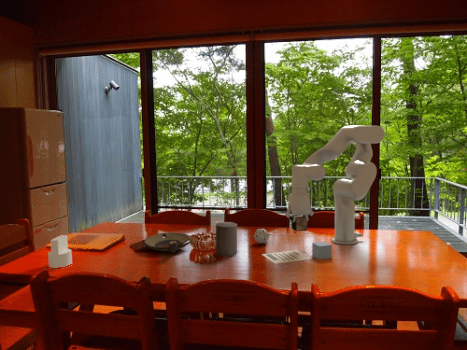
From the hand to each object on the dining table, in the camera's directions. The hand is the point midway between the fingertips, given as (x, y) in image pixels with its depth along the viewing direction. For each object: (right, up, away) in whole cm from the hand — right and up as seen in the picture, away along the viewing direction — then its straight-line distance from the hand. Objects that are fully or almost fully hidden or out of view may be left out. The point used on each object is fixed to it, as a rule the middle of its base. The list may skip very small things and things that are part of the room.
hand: (299, 228), depth 181 cm
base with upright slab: (-105, -13, -18) cm, 107 cm away
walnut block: (0, 0, 0) cm, 1 cm away
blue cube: (+7, -11, -14) cm, 19 cm away
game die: (-17, -9, +10) cm, 22 cm away
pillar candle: (-34, -11, -5) cm, 36 cm away
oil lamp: (-63, -11, +2) cm, 64 cm away
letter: (-8, -11, -12) cm, 18 cm away
